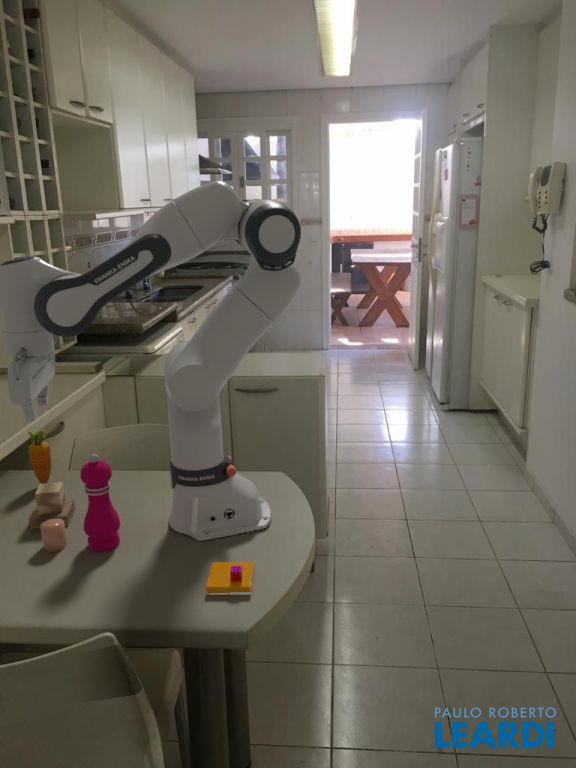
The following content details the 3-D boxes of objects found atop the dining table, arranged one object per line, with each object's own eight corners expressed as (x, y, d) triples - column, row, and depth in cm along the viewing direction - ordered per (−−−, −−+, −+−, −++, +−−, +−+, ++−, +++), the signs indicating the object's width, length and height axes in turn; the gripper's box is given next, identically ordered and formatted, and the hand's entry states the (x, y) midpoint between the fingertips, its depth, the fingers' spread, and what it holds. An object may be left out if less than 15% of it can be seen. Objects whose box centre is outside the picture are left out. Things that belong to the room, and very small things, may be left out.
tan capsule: (69, 539, 132) (66, 517, 131) (64, 550, 128) (61, 528, 126) (46, 541, 132) (43, 519, 130) (41, 552, 127) (37, 530, 126)
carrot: (29, 487, 156) (21, 430, 152) (47, 479, 160) (39, 424, 156) (41, 492, 154) (33, 434, 149) (59, 484, 158) (51, 428, 153)
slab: (75, 510, 145) (74, 499, 144) (68, 528, 137) (66, 515, 137) (39, 513, 144) (37, 501, 143) (30, 531, 136) (28, 518, 136)
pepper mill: (96, 533, 134) (86, 446, 128) (128, 536, 133) (119, 448, 127) (79, 551, 127) (67, 460, 121) (112, 554, 126) (101, 462, 120)
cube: (65, 501, 143) (63, 481, 141) (61, 512, 138) (59, 491, 137) (42, 503, 142) (39, 483, 141) (38, 514, 137) (35, 493, 136)
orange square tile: (206, 597, 112) (205, 577, 111) (212, 572, 120) (211, 552, 119) (251, 597, 112) (250, 577, 111) (254, 572, 120) (253, 552, 119)
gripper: (32, 355, 110) (41, 429, 114) (57, 332, 130) (65, 396, 134) (-6, 356, 109) (4, 431, 113) (26, 333, 129) (34, 397, 133)
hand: (37, 412), depth 124 cm, fingers open, 8 cm apart
